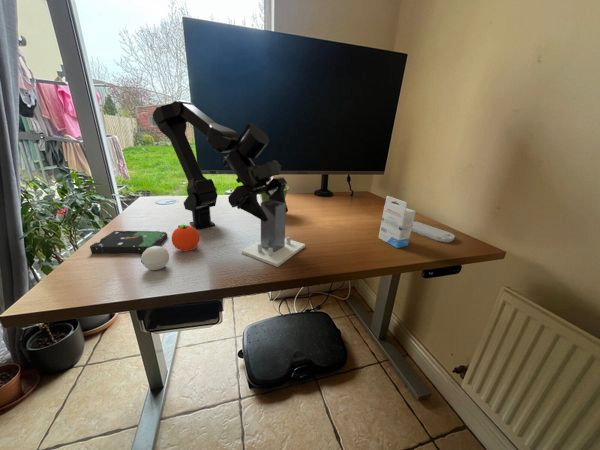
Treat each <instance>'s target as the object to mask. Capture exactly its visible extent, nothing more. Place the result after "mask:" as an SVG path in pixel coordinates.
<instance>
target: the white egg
mask: <svg viewBox="0 0 600 450" xmlns="http://www.w3.org/2000/svg"><path fill="white" fill-rule="evenodd" d="M140 259H141V260H140V262H141V263H142V265H143V266H144V267H145V268H146V269H148V270H151V271H158V270H161V269H163V268H164V267H166V265H168V263H169V260H170V254H169V252H168V250H167V249H166V248H164V247H162V245H160V246H152V247H150V248H147V249H146V250H145V251H144V252H143V254H141V257H140Z"/></svg>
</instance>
